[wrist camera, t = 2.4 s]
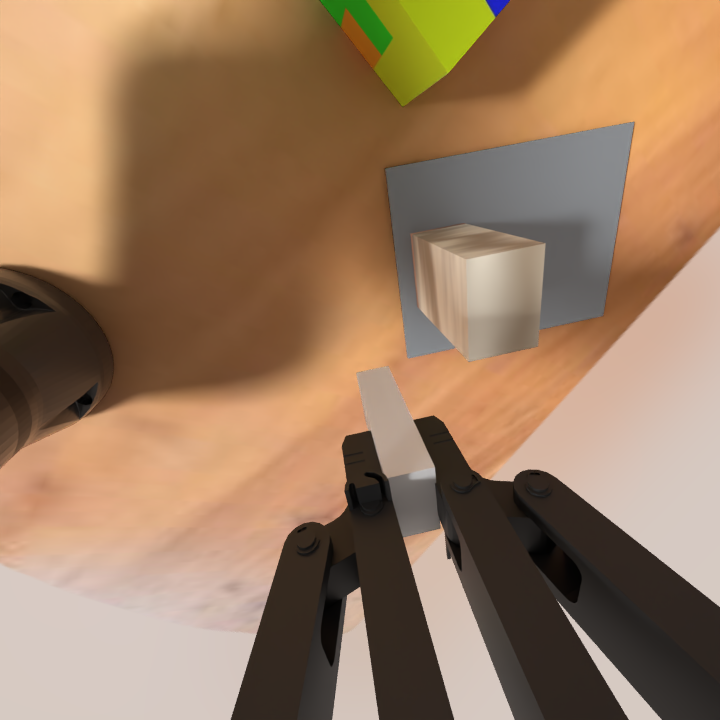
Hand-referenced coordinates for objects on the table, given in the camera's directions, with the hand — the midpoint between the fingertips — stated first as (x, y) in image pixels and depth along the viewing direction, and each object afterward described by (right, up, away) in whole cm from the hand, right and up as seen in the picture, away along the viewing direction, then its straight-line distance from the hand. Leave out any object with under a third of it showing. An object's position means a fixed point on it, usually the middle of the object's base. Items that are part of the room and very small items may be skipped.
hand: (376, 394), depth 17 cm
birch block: (+7, +10, +17) cm, 21 cm away
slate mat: (+14, +12, +18) cm, 26 cm away
